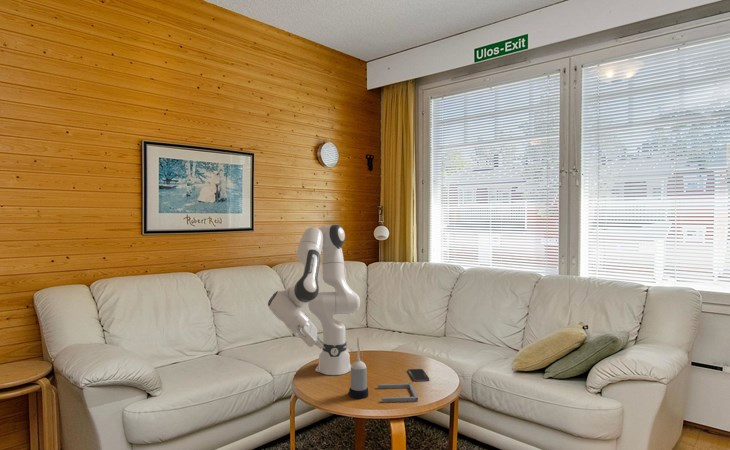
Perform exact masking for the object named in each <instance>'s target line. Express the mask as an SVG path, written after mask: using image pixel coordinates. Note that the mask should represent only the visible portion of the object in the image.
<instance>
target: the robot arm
mask: <svg viewBox="0 0 730 450" xmlns="http://www.w3.org/2000/svg"><path fill="white" fill-rule="evenodd" d="M345 232H346V231H345V230H344V228H343V227H342V226H341V225H340V224H332V225H324V226H320V227H315V226H312V227H308V228H306V229H305V231H303V233H302V235H301V237H300V241H299V243H298V247H297V251H296V258H297V260H298V261H299V263H301V264H302V265H304V267H303V272H302V276H301V277H300V278H299V279H298V280H297V281H296V283H294V284H293V285H292V286H291V287H289V288H286V289H284V290H276V291H275V292H274V293H273V294H272V295H271V296H270V298H269V300H268V302H267V307H268V308H269V310H270V311H271V313H272V314H273V315H274V316H275V317H276V318H277V319H278V320H279V321H281V322H283V324H284V325H285V326H286V328H288V329H289V331H290V332H292V333H293V334H294V335H296V334H298V337H299V338H300V339H301V340H302V341H303V342H304V343H305V344H306V345H307V346H308V347H309V348H312V347H313V346H316V347H317V348H319V349H320V350H321V349H322V351H321V352H320V353H319V355H318V358H319V359H318V365H317V366H316V368H315V370H314V371H315V373H316V372H317V373H321V374H323V375H326V376H339V375H345V374H347V373H349V372H351V366H352V364H351V360H350V353H349V351H348V350H347V347H348V345H347V340H346V339H347V338H346V336H347V335H346V334H347V333H346V330H347V329H346V326H345V324H344V323H342V322H341V321H339V320H337V319H335V318H334V316H335V315H349V314H353V313H357V312H358V311H359V309H360V306H361V297H360V296H359V295H358V293H356V292H355V291H354V290H353V289H352V288H351V287H350V286H349V284H348V282H347V280H346V273H345V261H344V260H345V258H344V254H343V250H342V249H343V248H342V247H343V245H344V243H345V240H346V233H345ZM321 255H322V259H321ZM321 262H322V263H321ZM320 265H322V266H321V267H322V269H321V270H322V271H321V272H322V280H323V282H324V283H325V284H326V285H328V286H331V287H333V289H334V290H335V291H328V292H327V291H322V292H320V287H319V281H318V275H319V271H320V270H319V269H320ZM305 305H307V307H308V310H309V311H310V312H311V313H312V314H313V315H314V316H315V317H316V318H318V320H319V322H320V324H321V328H322V339H321V338H320V337H319V336H318V332H319V331H318V328H317V327H316V325H315V324H314V323H313V321H311V320H310V317H309V316H308V315H307V314H306V313H304V311H302V310H301V308H302V307H304V306H305ZM322 340H323V341H322Z"/></svg>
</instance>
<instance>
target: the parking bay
mask: <svg viewBox="0 0 730 450" xmlns="http://www.w3.org/2000/svg"><path fill="white" fill-rule="evenodd" d="M377 389H379V390H380V389H381V390H383V389H409V391H410V393H411V395H412V396H402V397H400V396H398V397H397V396H395V397H394V396H393V397H381V400H380V401H381V403H403V402H404V403H405V402H407V401H408V402H409V403H410V402H418V401H419V397H418V395H417V392H416V391H415V389H414V387H413V385H412V383H383V384H381V383H380V384H379V383H378V384H377Z"/></svg>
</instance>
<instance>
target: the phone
mask: <svg viewBox="0 0 730 450" xmlns="http://www.w3.org/2000/svg"><path fill="white" fill-rule="evenodd" d="M407 373H408V375H409V376H410V378H411V380H412V382H414V381H415V382H429V381H430V377H429V376H428V374H427V373H426V372H425V370H424V369H423V368H411V369H410V368H409V369H407Z"/></svg>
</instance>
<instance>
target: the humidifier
mask: <svg viewBox="0 0 730 450" xmlns="http://www.w3.org/2000/svg"><path fill="white" fill-rule="evenodd" d="M356 341H357V351H356V358H357V360H356V361H354V362H352V364H351V371H350V387H349V391H348V393H347V394H348V396H349V398H351V399H354V400H364V399H367V398H368V397H369V388H368V387H367V383H368V379H367V378H368V377H367V375H368V372H367V365H366V363H365V362H363V360H361V357H360V350H361V348H362V350H364V349H363V347H361V348H360V336H357V338H356ZM363 353H364V352H363V351H362V353H361V355H363Z"/></svg>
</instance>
